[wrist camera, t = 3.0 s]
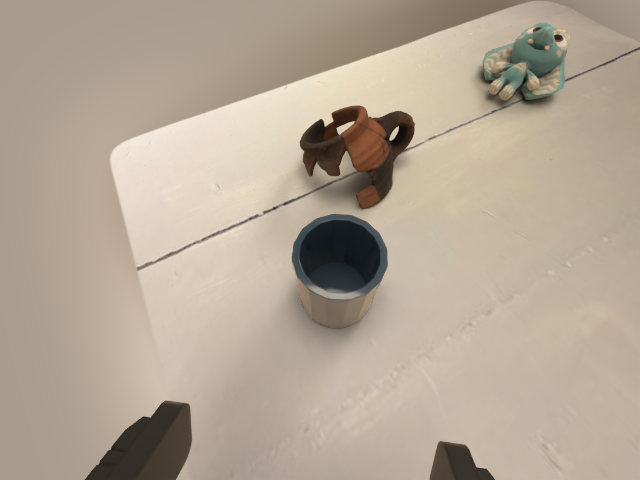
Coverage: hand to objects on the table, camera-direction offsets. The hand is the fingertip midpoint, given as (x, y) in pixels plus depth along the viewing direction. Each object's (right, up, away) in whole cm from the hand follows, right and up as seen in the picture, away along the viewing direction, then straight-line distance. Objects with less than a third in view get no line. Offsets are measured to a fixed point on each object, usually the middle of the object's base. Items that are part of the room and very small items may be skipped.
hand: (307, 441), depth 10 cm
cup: (+2, +2, +18) cm, 18 cm away
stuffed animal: (+27, +28, +32) cm, 50 cm away
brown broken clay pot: (+5, +14, +25) cm, 29 cm away
